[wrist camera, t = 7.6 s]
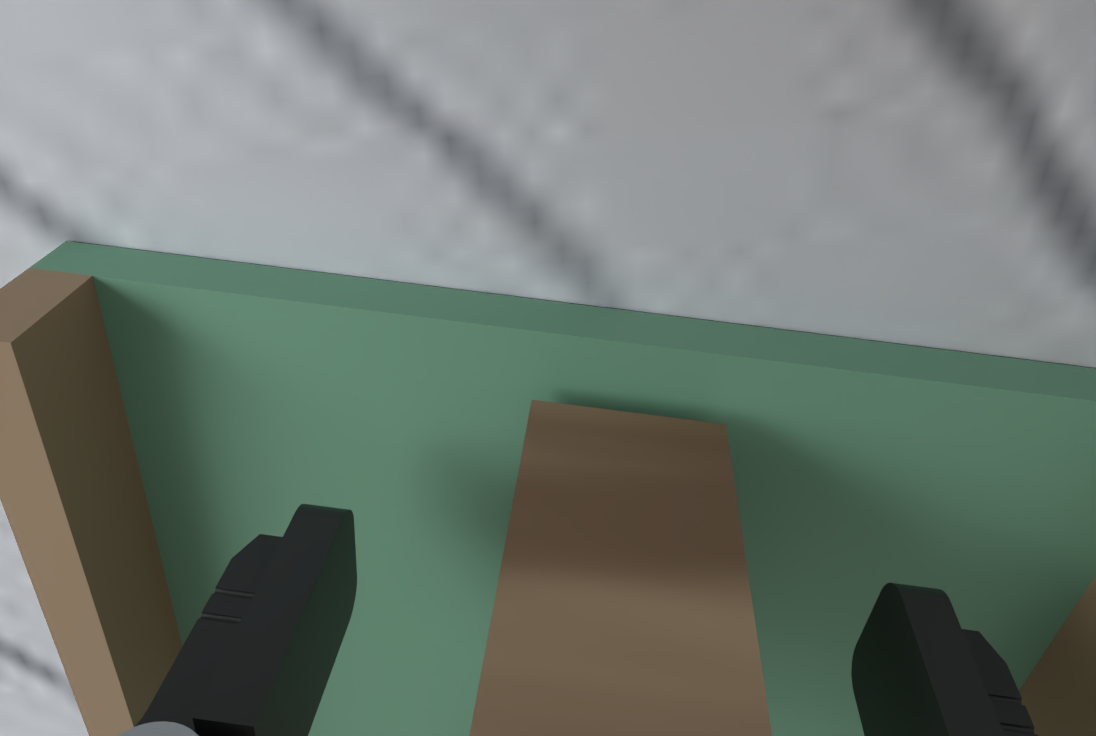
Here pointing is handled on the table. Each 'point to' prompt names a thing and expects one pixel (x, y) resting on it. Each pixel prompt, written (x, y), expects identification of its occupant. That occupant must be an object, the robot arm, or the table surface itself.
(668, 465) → the kicker
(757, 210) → the table surface
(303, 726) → the robot arm
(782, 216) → the table surface
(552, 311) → the pitch
